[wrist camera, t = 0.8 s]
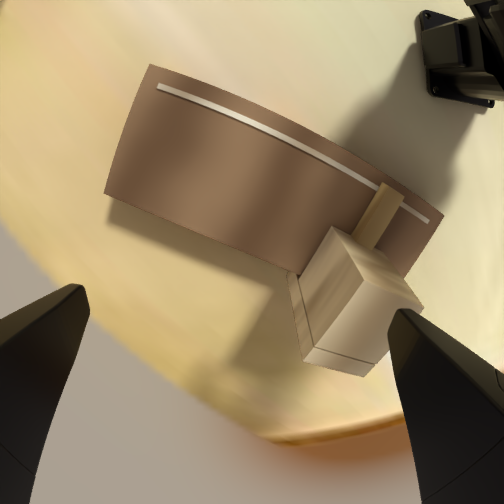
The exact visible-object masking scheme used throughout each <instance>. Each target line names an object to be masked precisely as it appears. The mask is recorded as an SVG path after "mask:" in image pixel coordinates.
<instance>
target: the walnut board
mask: <svg viewBox="0 0 504 504" xmlns="http://www.w3.org/2000/svg"><path fill="white" fill-rule="evenodd" d="M382 182H383V183H385V184H386V185H388V186H389V187H391V188H393V189H394V190H396V191H397V192H399V193H400V194H402V195H403V196H404V199H403V201H402V202H401V204H400V206H399V208H398V209H397V211H396V213H395V214H394V216H393V218H392V219H391V221H390V222H389V224H388V226H387V227H386V229H385V231H384V232H383V234H382V235H381V237H380V239H379V240H378V242H377V243H376V245H375V246H374V248H376V249H378V250H380V251H382V252H383V253H384V254H385V255H386V257H387V258H388V259H389V261H390V262H391V263H392V264H393V266H394V267H395V268H396V270H397V271H398V272H399V274H400V275H401V276H402V278H403V279H404V277H405V276H406V275H407V273H408V272H409V270H410V269H411V267H412V266H413V264H414V263H415V261H416V260H417V258H418V257H419V255H420V254H421V252H422V251H423V249H424V248H425V246H426V245H427V243H428V242H429V240H430V239H431V237H432V235H433V234H434V232H435V231H436V229H437V227H438V226H439V224H440V222H441V221H442V219H443V217H444V215H443V214H442V213H440V212H439V211H438V210H436V209H435V208H434V207H432V206H431V205H430V204H428V203H427V202H426V201H424V200H423V199H421V198H420V197H419V196H417V195H416V194H414V193H413V192H411V191H410V190H409V189H407V188H406V187H404V186H403V185H401V184H400V183H398V182H397V181H395V180H394V179H392V178H391V177H389V176H388V175H386V174H384V173H383V172H381V171H380V170H378V169H377V168H375V167H373V166H372V165H370V164H369V163H367V162H365V161H364V160H362V159H360V158H359V157H357V156H355V155H354V154H352V153H350V152H349V151H347V150H345V149H343V148H342V147H340V146H338V145H336V144H335V143H333V142H331V141H329V140H327V139H326V138H324V137H322V136H320V135H318V134H316V133H314V132H313V131H311V130H309V129H307V128H305V127H303V126H301V125H299V124H297V123H295V122H293V121H291V120H289V119H287V118H285V117H283V116H281V115H279V114H277V113H275V112H273V111H270V110H268V109H266V108H264V107H262V106H260V105H257V104H255V103H253V102H251V101H248V100H246V99H244V98H241V97H239V96H237V95H234V94H232V93H230V92H227V91H225V90H222V89H220V88H217V87H215V86H212V85H209V84H207V83H204V82H202V81H199V80H196V79H193V78H191V77H188V76H185V75H182V74H179V73H176V72H174V71H171V70H168V69H164V68H161V67H158V66H155V65H152V64H149V67H148V69H147V71H146V73H145V76H144V78H143V80H142V82H141V85H140V87H139V90H138V92H137V95H136V97H135V100H134V102H133V105H132V107H131V110H130V112H129V115H128V118H127V121H126V123H125V126H124V129H123V132H122V135H121V138H120V141H119V144H118V147H117V150H116V153H115V156H114V159H113V162H112V166H111V169H110V172H109V176H108V179H107V183H106V187H105V190H104V194H106V195H109V196H111V197H113V198H116V199H118V200H120V201H123V202H125V203H128V204H130V205H132V206H135V207H137V208H140V209H142V210H144V211H147V212H149V213H151V214H154V215H156V216H159V217H161V218H163V219H166V220H168V221H171V222H173V223H175V224H178V225H180V226H183V227H185V228H187V229H190V230H192V231H195V232H197V233H199V234H202V235H204V236H207V237H209V238H211V239H214V240H216V241H219V242H221V243H223V244H226V245H228V246H231V247H233V248H235V249H238V250H240V251H243V252H245V253H247V254H250V255H252V256H255V257H257V258H260V259H262V260H264V261H267V262H269V263H272V264H274V265H276V266H279V267H281V268H284V269H286V270H289V271H291V272H293V273H296V274H298V275H302V273H303V272H304V270H305V269H306V267H307V265H308V264H309V262H310V261H311V259H312V257H313V256H314V254H315V252H316V251H317V249H318V247H319V246H320V244H321V243H322V241H323V239H324V238H325V236H326V234H327V233H328V231H329V229H330V228H331V226H333V227H335V228H337V229H339V230H341V231H343V232H345V233H347V234H349V235H351V234H352V233H353V231H354V229H355V228H356V226H357V224H358V223H359V221H360V220H361V218H362V216H363V215H364V213H365V211H366V209H367V208H368V206H369V204H370V203H371V201H372V199H373V198H374V196H375V194H376V192H377V191H378V189H379V187H380V185H381V184H382Z"/></svg>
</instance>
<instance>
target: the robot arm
mask: <svg viewBox="0 0 504 504" xmlns="http://www.w3.org/2000/svg"><path fill="white" fill-rule="evenodd" d="M464 2H465V3H466V5H467V6H469V7H470V9H471V10H472V12H473V14H474V16H473V17H468V18H464V19H460V20H458V19H455V18H452V17H449V16H446V15H443V14H439V13H436V12H433V11H429V10H424V11H421V12H420V22H421V29H422V33H421V37H422V45H423V54H424V65H425V66H426V77H427V90H428V93H429V94H430V95H431V96H433V97H438V98H444V99H450V100H455V101H460V102H465V103H470V104H474V105H479V106H483V107H487V108H493V107H494V104H495V100H498V101H504V0H464ZM425 14H426V15H427V16H428V19H427V18H426V16H425ZM433 87H435V88H436V92H434V91H433ZM488 100H489V102H488ZM89 315H90V307H89V303H88V299H87V295H86V291H85V288H84V286H83V285H80V284H73V283H72V284H68V285H66V286H64V287H62V288H60V289H58V290H56V291H54V292H52V293H50V294H48V295H46V296H44V297H43V298H41V299H38V300H37V301H35V302H33V303H31V304H29V305H27V306H25V307H23V308H21V309H19V310H17V311H15V312H13V313H11V314H10V315H8V316H6V317H4V318H2V319H0V504H29V502H30V497H31V493H32V489H33V485H34V481H35V475H36V472H37V468H38V465H39V461H40V457H41V454H42V450H43V447H44V444H45V441H46V438H47V434H48V431H49V428H50V425H51V422H52V419H53V416H54V414H55V411H56V408H57V405H58V402H59V399H60V397H61V394H62V392H63V389H64V386H65V384H66V381H67V379H68V376H69V374H70V371H71V369H72V366H73V364H74V361H75V358H76V356H77V352H78V350H79V346H80V343H81V340H82V337H83V333H84V331H85V327H86V325H87V322H88V319H89ZM387 339H388V344H389V349H390V354H391V360H392V366H393V372H394V377H395V382H396V386H397V389H398V393H399V397H400V401H401V405H402V408H403V412H404V417H405V421H406V425H407V429H408V433H409V438H410V442H411V447H412V452H413V457H414V462H415V466H416V472H417V477H418V483H419V489H420V496H421V501H422V504H504V374H503V373H502V372H500V371H499V370H498V369H495V368H494V367H493V366H492V365H491V364H489V363H488V362H486V361H485V360H484V359H482V358H481V357H480V356H478V355H477V354H475V353H474V352H473V351H471V350H470V349H468V348H467V347H466V346H464V345H463V344H461V343H460V342H458V341H457V340H456V339H454V338H453V337H451V336H450V335H448V334H447V333H446V332H444V331H443V330H441V329H440V328H438V327H437V326H435V325H434V324H433V323H431V322H430V321H428V320H427V319H425V318H424V317H422V316H421V315H419V314H418V313H416V312H415V311H413V310H412V309H410V308H399V309H397V310H396V312H395V314H394V316H393V319H392V321H391V324H390V326H389V328H388V332H387Z"/></svg>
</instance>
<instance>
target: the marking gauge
mask: <svg viewBox="0 0 504 504" xmlns="http://www.w3.org/2000/svg"><path fill="white" fill-rule="evenodd" d="M403 199H404V196H403V195H402V194H400V193H399V192H397V191H396V190H394V189H393V188H391V187H389V186H388V185H386V184H385V183H383V182H382V184H381V185H380V187H379V189H378V191H377V192H376V194H375V196H374V198H373V199H372V201H371V203H370V204H369V206H368V208H367V209H366V211H365V213H364V215H363V216H362V218H361V220H360V221H359V223H358V224H357V226H356V228H355V229H354V231H353V233H352V234H351V235H349V234H347V233H345V232H343V231H341V230H339V229H337V228H335V227H333V226H331V228H330V229H329V231H328V233H327V234H326V236H325V238H324V239H323V241H322V243H321V244H320V246H319V247H318V249H317V251H316V252H315V254H314V256H313V257H312V259H311V261H310V262H309V264H308V265H307V267H306V269H305V270H304V272H303V273H302V275H298V274H296V273H293V272H291V271H289V272H288V274H287V275H286V276H287V281H288V286H289V291H290V297H291V302H292V307H293V312H294V318H295V323H296V329H297V334H298V340H299V345H300V351H301V356H302V361H303V362H307V363H310V364H314V365H317V366H321V367H325V368H328V369H332V370H336V371H340V372H344V373H348V374H352V375H356V376H360V377H365V376H366V375H367V373H368V372H369V371H370V370H371V369H372V368H373V367H374V366H375V364H377V363H378V362H379V361H380V360H381V359H382V358H383V356H384V355H385V354H386V353H387V352H388V351H389V350H390V349H389V344H388V339H387V332H388V328H389V326H390V324H391V321H392V319H393V316H394V314H395V312H396V310H397V309H399V308H410V309H412V310H413V311H415V312H416V313H418V314H420V313H421V312H422V310H423V309H424V306H423V305H422V304H421V302H420V301H419V299H418V298H417V297H416V295H415V294H414V292H413V291H412V290H411V288H410V287H409V286H408V284H407V283H406V282H405V280H404V279H403V278H402V276H401V275H400V274H399V272H398V271H397V270H396V268H395V267H394V266H393V264H392V263H391V262H390V261H389V259H388V258H387V257H386V255H385V254H384V253H383V252H382V251H380V250H378V249H376V248H374V246H375V245H376V243H377V242H378V240H379V239H380V237H381V235H382V234H383V232H384V231H385V229H386V227H387V226H388V224H389V222H390V221H391V219H392V218H393V216H394V214H395V213H396V211H397V209H398V208H399V206H400V204H401V202H402V201H403Z"/></svg>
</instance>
